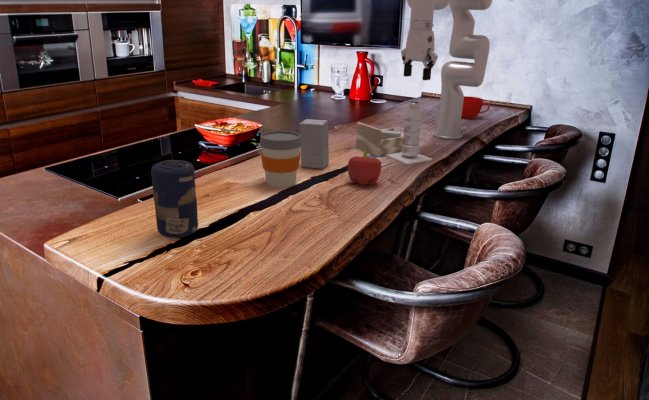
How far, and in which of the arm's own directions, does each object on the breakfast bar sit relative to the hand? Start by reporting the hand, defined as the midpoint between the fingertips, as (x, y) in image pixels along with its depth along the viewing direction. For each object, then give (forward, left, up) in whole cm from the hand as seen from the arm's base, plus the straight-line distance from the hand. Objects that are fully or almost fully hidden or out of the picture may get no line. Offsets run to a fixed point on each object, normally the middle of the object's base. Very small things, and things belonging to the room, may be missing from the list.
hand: (416, 78), depth 171 cm
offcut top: (-2, -14, -25) cm, 28 cm away
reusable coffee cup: (+54, +2, -29) cm, 62 cm away
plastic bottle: (0, 0, -29) cm, 29 cm away
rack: (-1, -14, -29) cm, 32 cm away
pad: (0, 0, -29) cm, 29 cm away
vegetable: (+31, +14, -29) cm, 45 cm away
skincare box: (+36, -8, -29) cm, 47 cm away
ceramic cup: (-77, -40, -29) cm, 91 cm away
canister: (+92, +22, -29) cm, 99 cm away
